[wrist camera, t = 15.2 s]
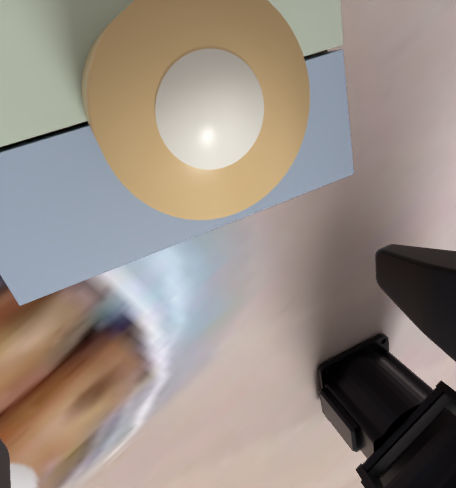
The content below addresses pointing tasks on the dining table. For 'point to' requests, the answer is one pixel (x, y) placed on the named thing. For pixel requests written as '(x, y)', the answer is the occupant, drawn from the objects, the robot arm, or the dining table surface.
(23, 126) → the sage flap
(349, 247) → the dining table surface
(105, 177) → the slate flap
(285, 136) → the tan rounded cylinder
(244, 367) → the dining table surface
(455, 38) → the dining table surface
